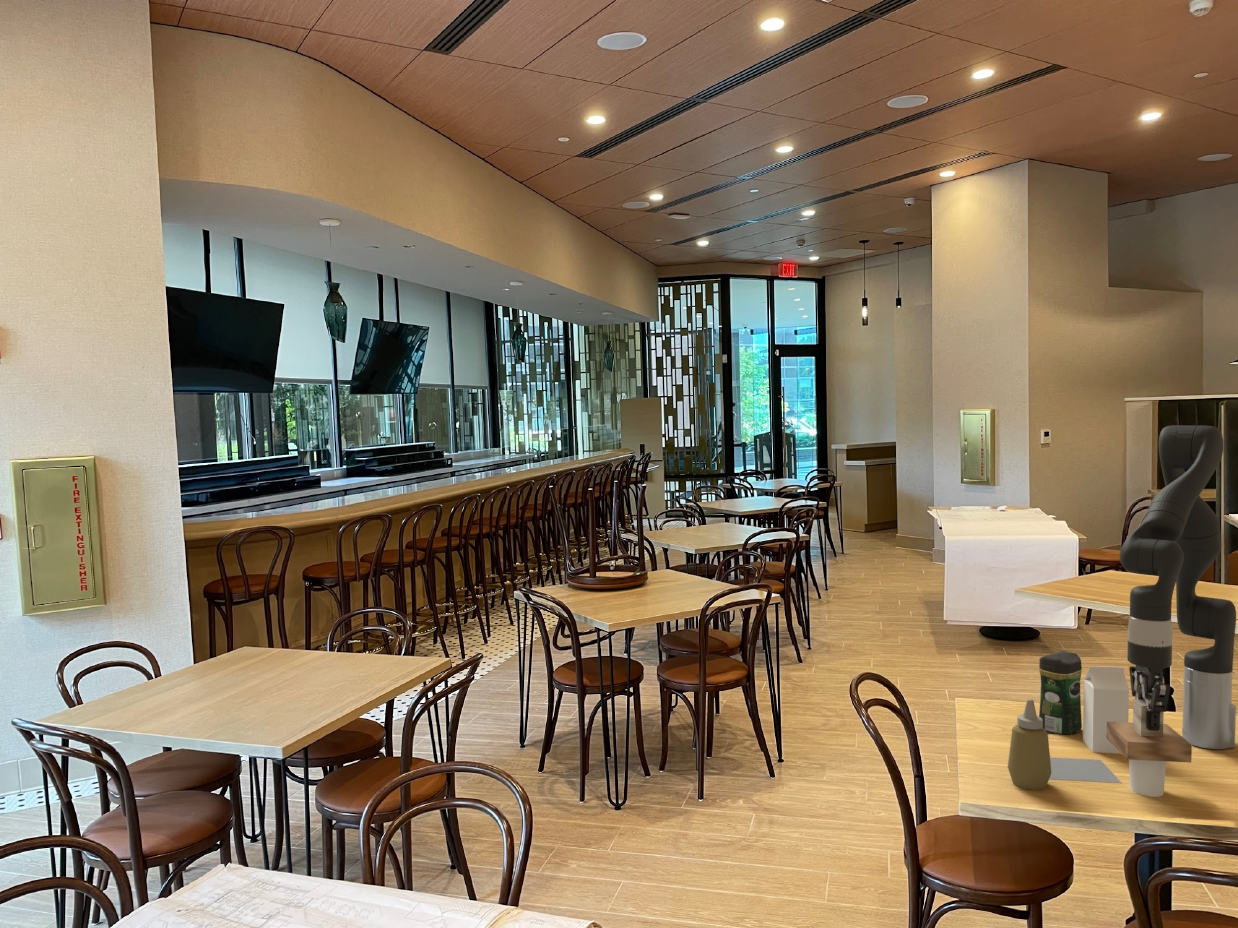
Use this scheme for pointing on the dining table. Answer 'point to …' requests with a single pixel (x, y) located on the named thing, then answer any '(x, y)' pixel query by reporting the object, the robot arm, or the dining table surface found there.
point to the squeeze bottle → (1029, 751)
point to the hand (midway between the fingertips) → (1148, 725)
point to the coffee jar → (1060, 693)
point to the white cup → (1147, 777)
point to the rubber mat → (1081, 770)
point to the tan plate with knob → (1148, 739)
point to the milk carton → (1104, 705)
